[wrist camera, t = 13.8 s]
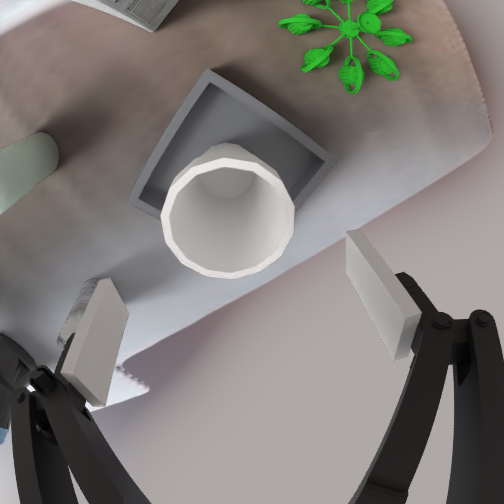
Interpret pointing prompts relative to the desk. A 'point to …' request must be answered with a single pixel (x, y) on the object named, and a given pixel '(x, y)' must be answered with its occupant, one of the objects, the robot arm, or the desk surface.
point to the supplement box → (135, 10)
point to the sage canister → (25, 166)
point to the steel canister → (77, 312)
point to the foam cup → (227, 214)
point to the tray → (229, 131)
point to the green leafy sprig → (367, 23)
